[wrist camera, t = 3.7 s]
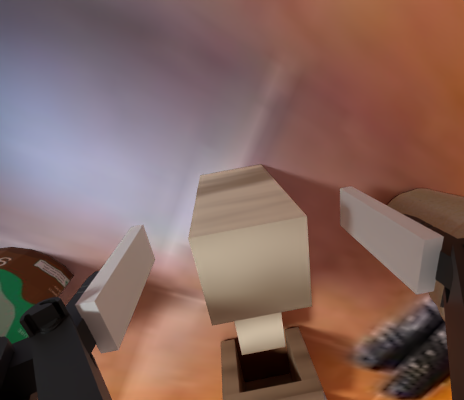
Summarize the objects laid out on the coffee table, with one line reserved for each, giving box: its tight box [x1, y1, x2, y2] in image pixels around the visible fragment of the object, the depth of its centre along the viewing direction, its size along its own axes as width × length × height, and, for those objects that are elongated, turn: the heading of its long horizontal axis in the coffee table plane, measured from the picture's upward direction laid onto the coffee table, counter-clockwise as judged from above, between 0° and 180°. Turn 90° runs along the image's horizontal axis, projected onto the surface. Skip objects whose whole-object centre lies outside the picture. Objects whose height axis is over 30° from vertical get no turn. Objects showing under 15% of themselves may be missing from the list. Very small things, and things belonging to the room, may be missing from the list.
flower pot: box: [387, 188, 464, 321], centre depth 18 cm, size 9×9×9 cm
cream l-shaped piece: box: [188, 164, 312, 355], centre depth 17 cm, size 16×5×10 cm, turn 10°
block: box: [221, 327, 324, 400], centre depth 24 cm, size 9×9×6 cm
